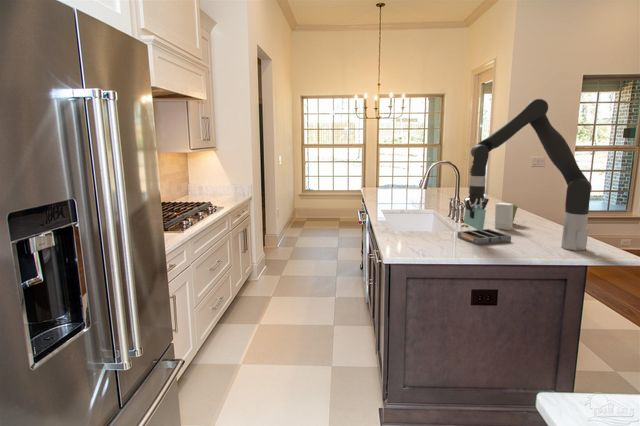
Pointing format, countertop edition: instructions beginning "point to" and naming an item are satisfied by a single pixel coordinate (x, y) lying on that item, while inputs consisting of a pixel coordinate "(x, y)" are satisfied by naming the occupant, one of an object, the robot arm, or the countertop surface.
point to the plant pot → (514, 210)
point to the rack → (484, 236)
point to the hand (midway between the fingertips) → (475, 217)
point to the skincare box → (504, 216)
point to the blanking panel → (475, 218)
